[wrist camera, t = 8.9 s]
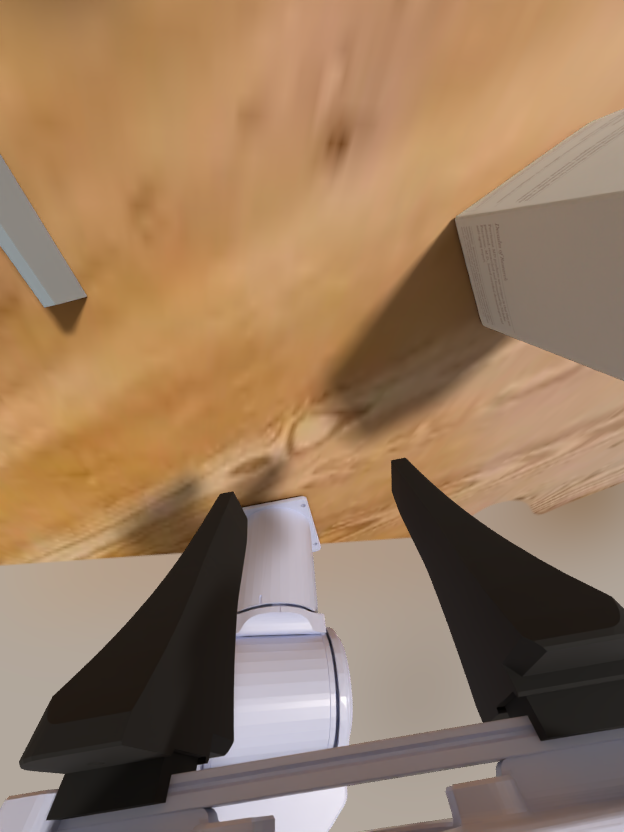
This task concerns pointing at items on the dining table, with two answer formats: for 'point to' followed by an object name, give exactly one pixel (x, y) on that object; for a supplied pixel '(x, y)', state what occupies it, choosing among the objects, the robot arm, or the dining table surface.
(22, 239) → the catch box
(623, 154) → the supplement box
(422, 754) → the robot arm
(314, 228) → the dining table surface
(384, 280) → the dining table surface
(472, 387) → the dining table surface
